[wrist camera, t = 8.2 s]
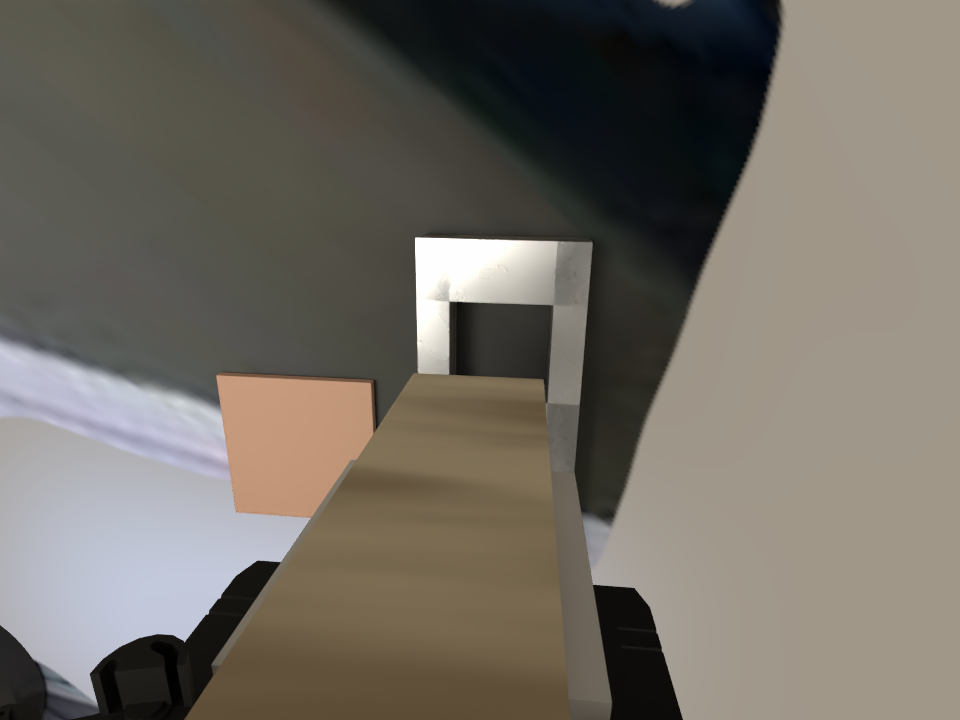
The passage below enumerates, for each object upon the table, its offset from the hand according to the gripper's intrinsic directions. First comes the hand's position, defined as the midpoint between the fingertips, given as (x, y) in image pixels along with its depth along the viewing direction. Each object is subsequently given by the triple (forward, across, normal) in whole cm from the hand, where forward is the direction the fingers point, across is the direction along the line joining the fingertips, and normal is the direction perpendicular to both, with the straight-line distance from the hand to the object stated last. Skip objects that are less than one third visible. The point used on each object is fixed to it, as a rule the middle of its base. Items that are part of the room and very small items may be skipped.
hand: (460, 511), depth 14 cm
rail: (+18, 0, +5) cm, 19 cm away
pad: (+18, +13, +8) cm, 23 cm away
